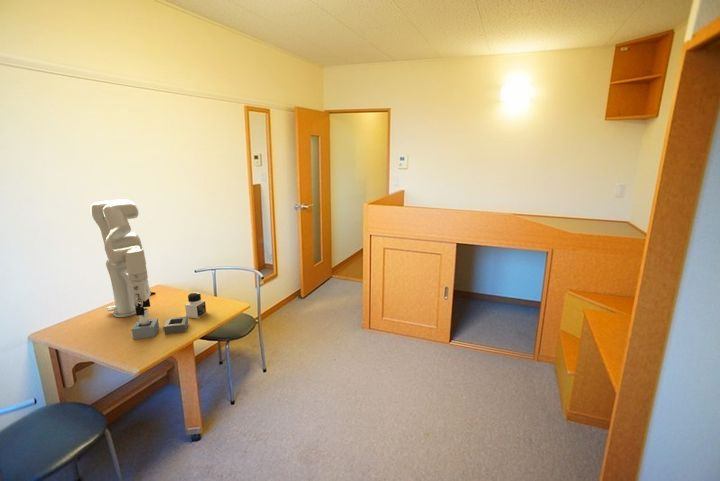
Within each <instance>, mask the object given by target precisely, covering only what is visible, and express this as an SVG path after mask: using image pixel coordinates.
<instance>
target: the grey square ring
mask: <svg viewBox="0 0 720 481" xmlns="http://www.w3.org/2000/svg"><path fill="white" fill-rule="evenodd" d="M188 326H189V317H188V316H186V315H185V316H179V317H169V318H167V319H166V322H165V323H164V325H163V331H164V332H163V333H164V335H171V334H180V333H187V328H188Z"/></svg>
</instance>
